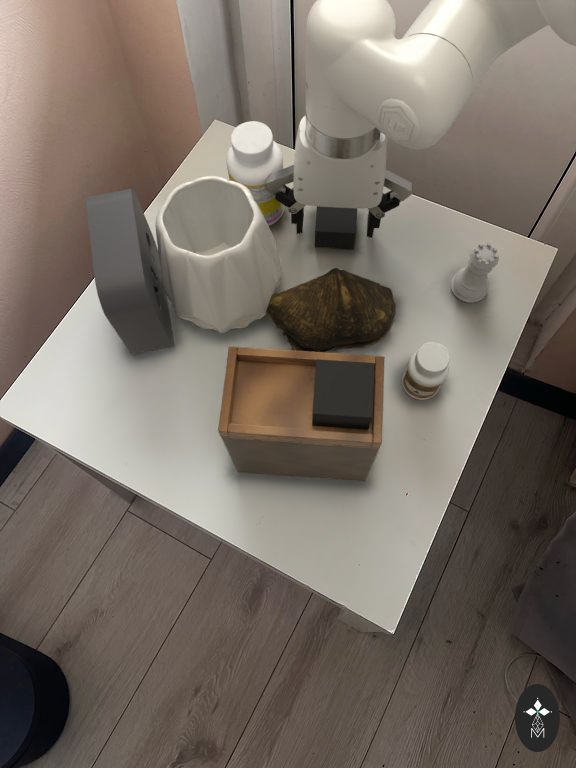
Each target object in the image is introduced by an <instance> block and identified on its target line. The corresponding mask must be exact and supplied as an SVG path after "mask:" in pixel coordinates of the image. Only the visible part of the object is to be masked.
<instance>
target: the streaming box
mask: <svg viewBox="0 0 576 768" xmlns="http://www.w3.org/2000/svg"><path fill="white" fill-rule="evenodd" d="M85 208H86V215H87V224H88V233H89V242H90V252H91V259H92V269H93V276H94V277H93V278H94V284H95V289H96V293H97V297H98V300H99V303H100V306H101V309H102V311H103V313H104V316H105V317H106V319H107V321H108V322H109V324H110V326H112V328H113V329H114V331H115V332H116V334H117V336H118V337H119V338H120V340H121V341H122V343H123V344H124V346H125V347H126V349H127V350H128V352H129V353H130V355H136V354H142V353H147V352H151V351H155V350H156V351H157V350H161V349H165V348H170V347H174V345H175V340H174V332H173V326H172V320H171V313H170V307H169V302H168V300H169V299H168V297H167V295H166V293H165V291H164V290H163V287H162V282H161V267H160V260H159V253H158V245H157V241H156V240H155V237H154V234H153V233H152V230H151V228H150V225H149V223H148V220H147V218H146V214H145V212H144V210H143V208H142V206H141V203H140V201H139V198H138V196H137V193H136V191H135V189H134V188H128V189H122V190H118V191H112V192H108V193H107V192H106V193H103V194H96V195H90V196H87V197H86V200H85Z"/></svg>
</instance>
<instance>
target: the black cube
mask: <svg viewBox="0 0 576 768" xmlns="http://www.w3.org/2000/svg"><path fill="white" fill-rule="evenodd" d="M315 213H316V214H315V225H314V248H321V249H339V250H355V245H356V238H357V237H356V236H357V223H358V208H337V207H320V206H316V212H315Z"/></svg>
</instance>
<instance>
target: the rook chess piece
mask: <svg viewBox="0 0 576 768" xmlns="http://www.w3.org/2000/svg"><path fill="white" fill-rule="evenodd" d="M499 261H500V256H499V253H498V248H497V246H494V247H493V246H492V243H490V242H487V243H486V244H484V242H480V243H478V245H475V246H474V247H472V248H471V249H470V252H469V258H468V262H467V266H464V267H462V268H460V269H459V270H458V271H456V273H455V274H454V275H453V276H454V277H453V278H452V279H451V282H450V285H451V291H452V292H453V294H454V296H455V297H456V298H458V299H459V300H460V301H463V302H465V303H476V302H479V301H482V300H483V299H484V298H485V297H486V296H487V294H488V291H489V289H490V285H491V284H490V277H489V273H491V271H493V268H495V267H496V266H497V265H498V264H499Z"/></svg>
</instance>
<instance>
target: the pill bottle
mask: <svg viewBox="0 0 576 768" xmlns="http://www.w3.org/2000/svg"><path fill="white" fill-rule="evenodd" d="M450 362H451V355H450V352H449V350H448V348H447V347H446V346H445V345H443V344H442V343H440V342H436V341H429V342H425V343H423V344H422V345H421V346H420V347H419V348H418V349H417V350H416V351H414V353H413V354H411V356H410V357H409V359H408V361H407V364H406V367H405V369H404V371H403V375H402V377H401V384H402V387H403V390H404V391H405V393H406V394H407V395H408V396H409V397H411V398H413V399H416V400H420V401H425V400H429V399H431V398H433V397H435V396H436V395H437V394H438V392H439V391H440V389H441V387H442V386H443V384H444V382H445V381H446V380H447V378H448V375H449V373H450Z"/></svg>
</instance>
